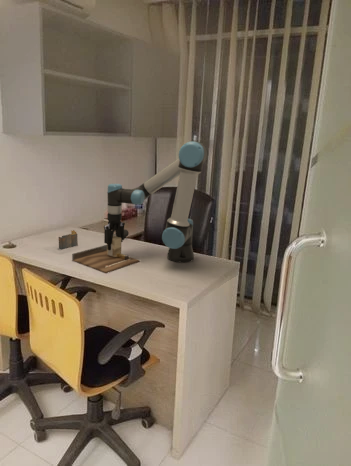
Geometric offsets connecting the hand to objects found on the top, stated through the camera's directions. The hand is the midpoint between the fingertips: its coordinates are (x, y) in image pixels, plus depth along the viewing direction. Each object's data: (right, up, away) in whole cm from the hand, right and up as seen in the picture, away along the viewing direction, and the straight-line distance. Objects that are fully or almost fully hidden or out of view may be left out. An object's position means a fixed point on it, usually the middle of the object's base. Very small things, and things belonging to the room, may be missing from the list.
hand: (114, 254), depth 201 cm
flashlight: (-2, +7, +36) cm, 36 cm away
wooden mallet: (+3, -1, -2) cm, 4 cm away
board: (-3, -3, -7) cm, 8 cm away
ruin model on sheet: (-29, +3, +14) cm, 33 cm away
